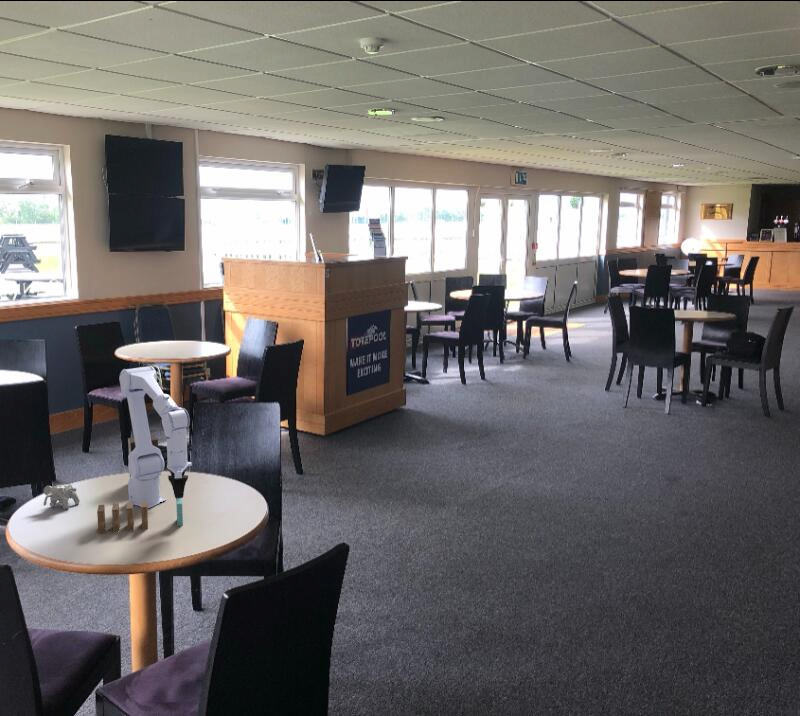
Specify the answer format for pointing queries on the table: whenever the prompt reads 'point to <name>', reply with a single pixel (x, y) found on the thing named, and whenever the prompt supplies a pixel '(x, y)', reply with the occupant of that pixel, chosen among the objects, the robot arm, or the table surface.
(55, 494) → the gray elephant figurine
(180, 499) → the teal domino
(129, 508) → the domino
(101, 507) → the domino
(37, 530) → the table surface
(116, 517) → the domino
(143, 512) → the domino
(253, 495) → the table surface
